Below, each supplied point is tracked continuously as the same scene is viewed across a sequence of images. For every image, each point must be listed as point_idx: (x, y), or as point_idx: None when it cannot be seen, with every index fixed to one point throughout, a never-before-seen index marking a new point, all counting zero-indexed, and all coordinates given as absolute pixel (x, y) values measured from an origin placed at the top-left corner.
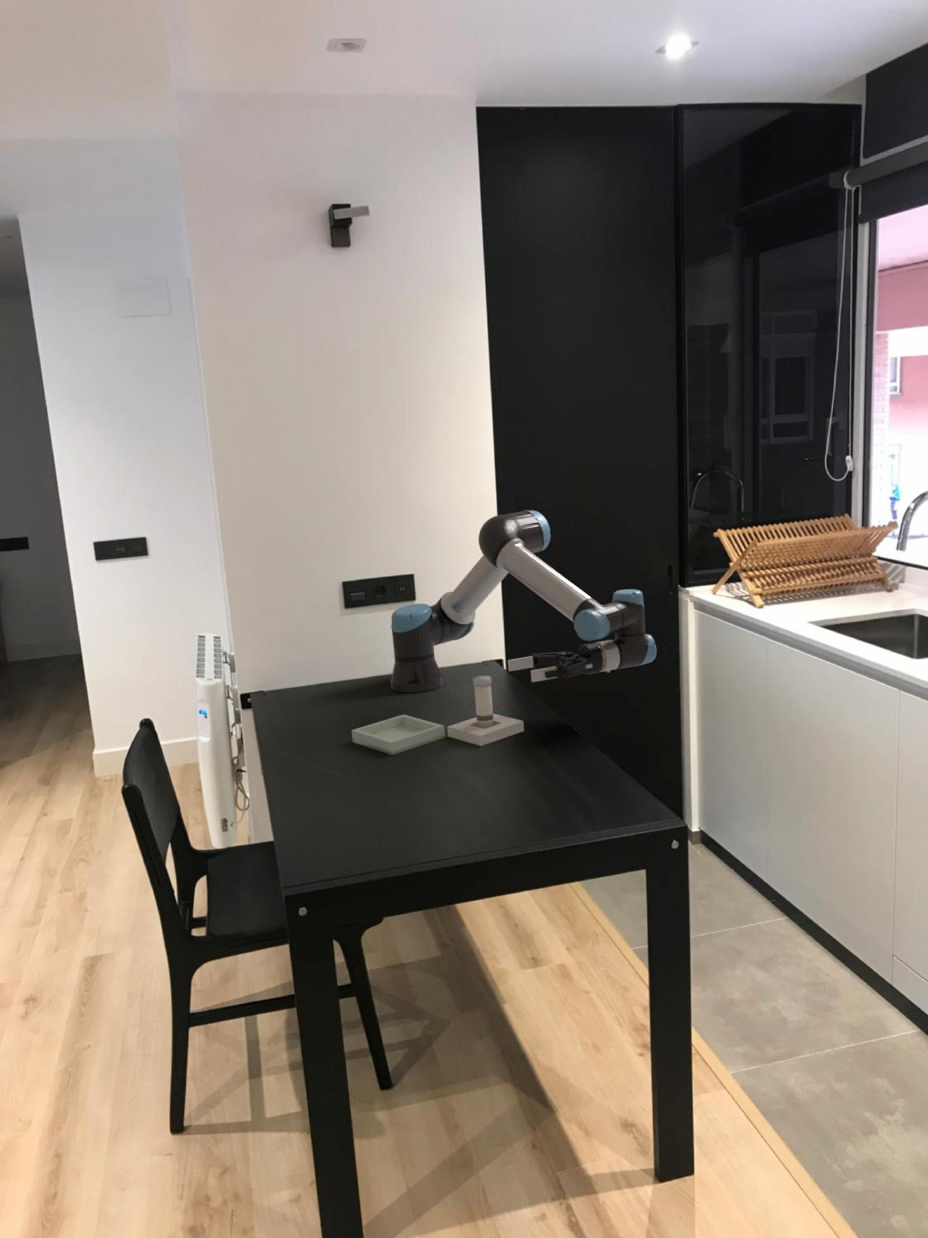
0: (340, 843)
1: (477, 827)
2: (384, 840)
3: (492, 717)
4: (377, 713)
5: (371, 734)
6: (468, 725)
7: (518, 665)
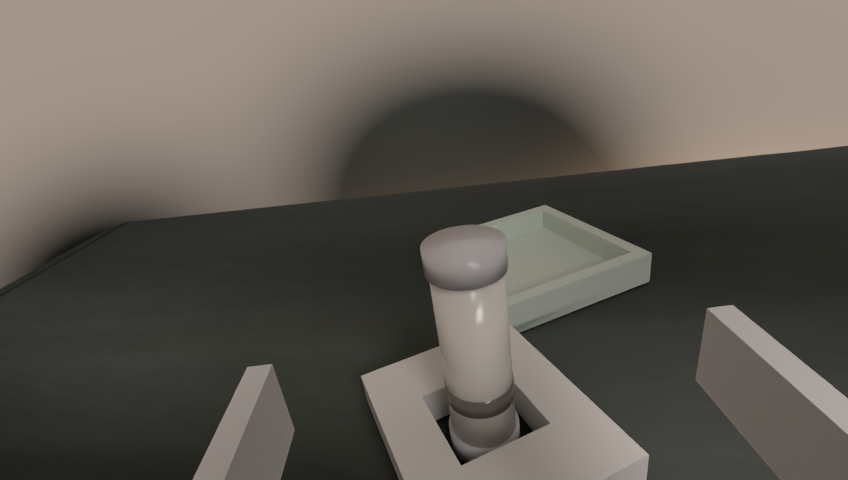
0: (165, 237)
1: (4, 334)
2: (120, 261)
3: (457, 408)
4: (798, 247)
5: (499, 222)
6: None
7: (757, 413)
